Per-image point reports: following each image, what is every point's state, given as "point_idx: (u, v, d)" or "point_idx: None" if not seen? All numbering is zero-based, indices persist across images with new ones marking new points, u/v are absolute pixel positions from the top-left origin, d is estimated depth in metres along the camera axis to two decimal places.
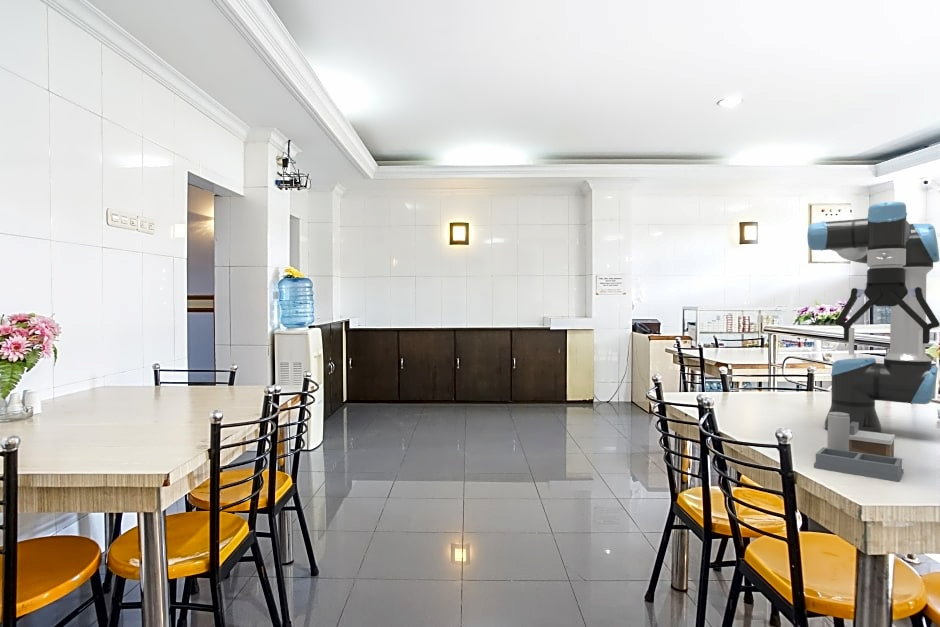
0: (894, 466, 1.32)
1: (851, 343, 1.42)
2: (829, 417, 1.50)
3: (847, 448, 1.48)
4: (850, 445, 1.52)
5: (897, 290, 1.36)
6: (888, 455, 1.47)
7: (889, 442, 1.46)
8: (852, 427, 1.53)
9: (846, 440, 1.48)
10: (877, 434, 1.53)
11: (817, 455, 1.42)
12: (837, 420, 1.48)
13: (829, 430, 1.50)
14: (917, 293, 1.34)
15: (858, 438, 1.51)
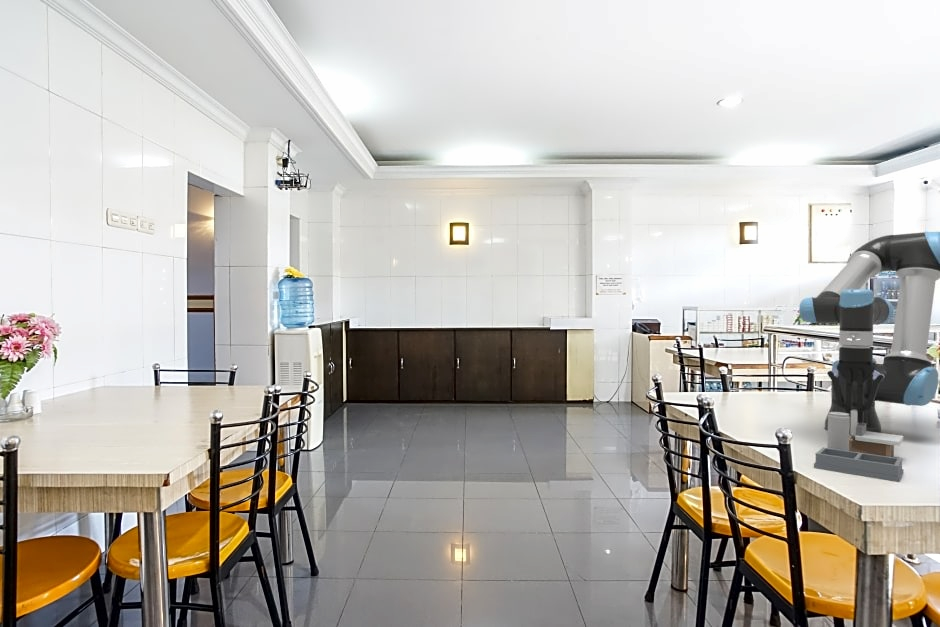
0: (894, 466, 1.32)
1: (853, 424, 1.54)
2: (829, 417, 1.50)
3: (847, 448, 1.48)
4: (850, 445, 1.52)
5: (866, 367, 1.52)
6: (888, 455, 1.47)
7: (898, 443, 1.45)
8: (860, 428, 1.51)
9: (846, 440, 1.48)
10: (885, 435, 1.52)
11: (817, 455, 1.42)
12: (837, 420, 1.48)
13: (829, 430, 1.50)
14: (877, 379, 1.51)
15: (866, 439, 1.50)
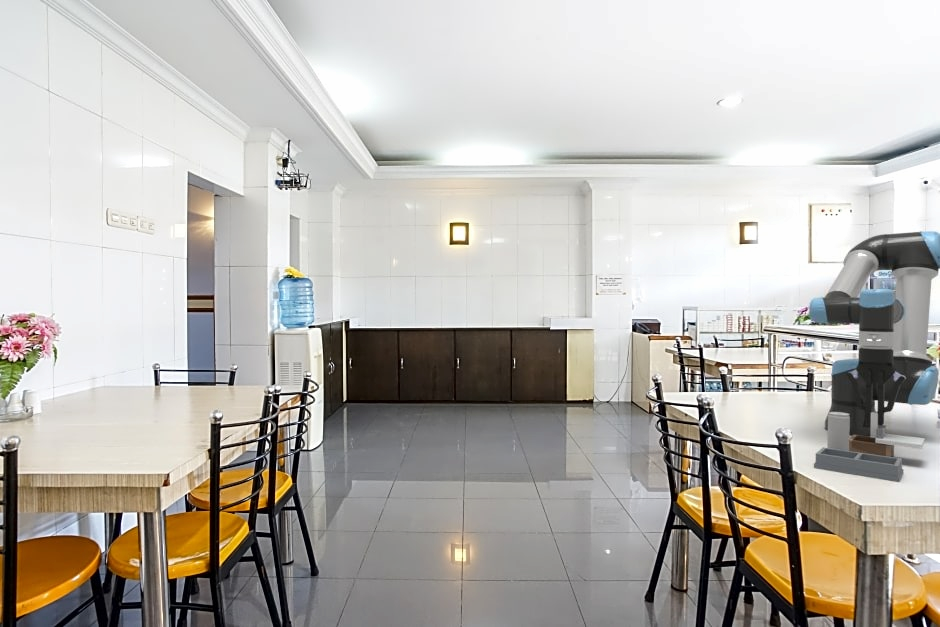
0: (894, 466, 1.32)
1: (873, 427, 1.51)
2: (829, 417, 1.50)
3: (847, 448, 1.48)
4: (850, 445, 1.52)
5: (887, 368, 1.49)
6: (888, 455, 1.47)
7: (920, 446, 1.42)
8: (881, 430, 1.48)
9: (846, 440, 1.48)
10: (906, 438, 1.49)
11: (817, 455, 1.42)
12: (837, 420, 1.48)
13: (829, 430, 1.50)
14: (898, 380, 1.48)
15: (887, 442, 1.47)
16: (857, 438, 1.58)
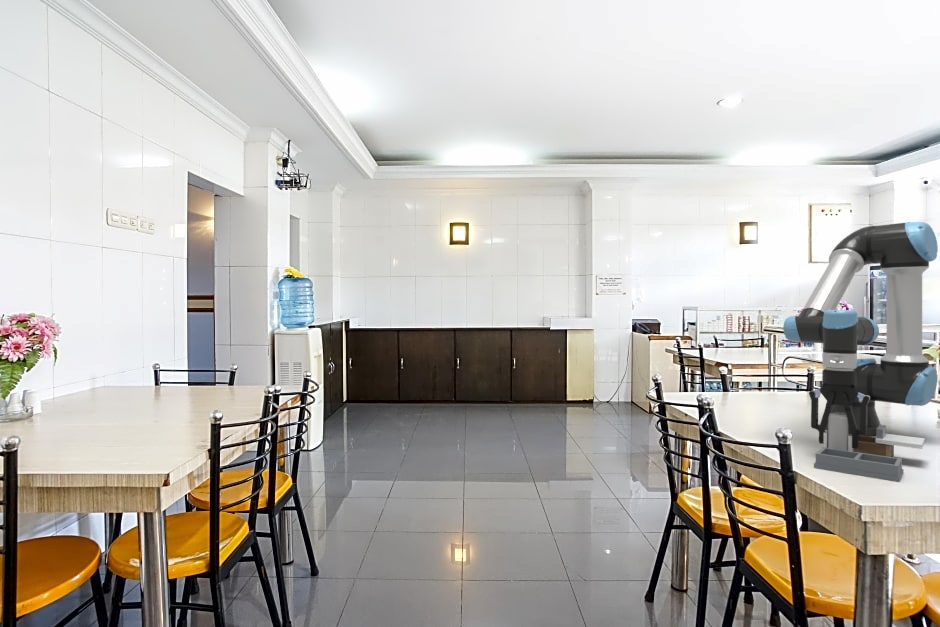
0: (894, 466, 1.32)
1: (825, 447, 1.51)
2: (829, 417, 1.50)
3: (847, 448, 1.48)
4: None
5: (849, 390, 1.48)
6: (888, 455, 1.47)
7: (920, 446, 1.42)
8: (881, 430, 1.48)
9: (846, 440, 1.48)
10: (906, 438, 1.49)
11: (817, 455, 1.42)
12: (837, 420, 1.48)
13: (829, 430, 1.50)
14: (863, 401, 1.46)
15: (887, 442, 1.47)
16: None
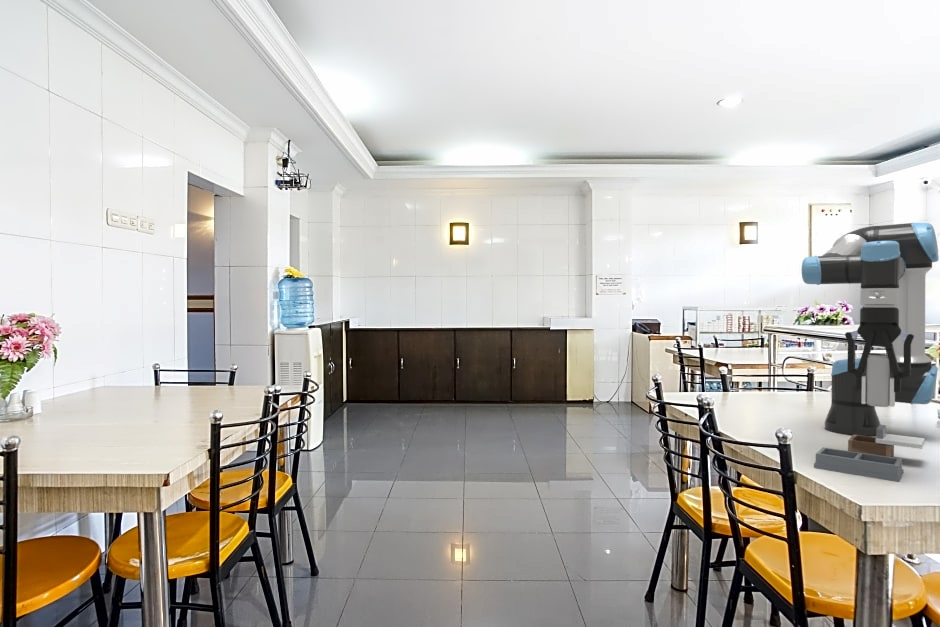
0: (894, 466, 1.32)
1: (864, 392, 1.38)
2: (868, 359, 1.37)
3: (888, 392, 1.35)
4: (850, 445, 1.52)
5: (891, 329, 1.35)
6: (888, 455, 1.47)
7: (920, 446, 1.42)
8: (881, 430, 1.48)
9: (887, 384, 1.35)
10: (906, 438, 1.49)
11: (817, 455, 1.42)
12: (878, 361, 1.35)
13: (868, 373, 1.37)
14: (907, 339, 1.33)
15: (887, 442, 1.47)
16: (857, 438, 1.58)
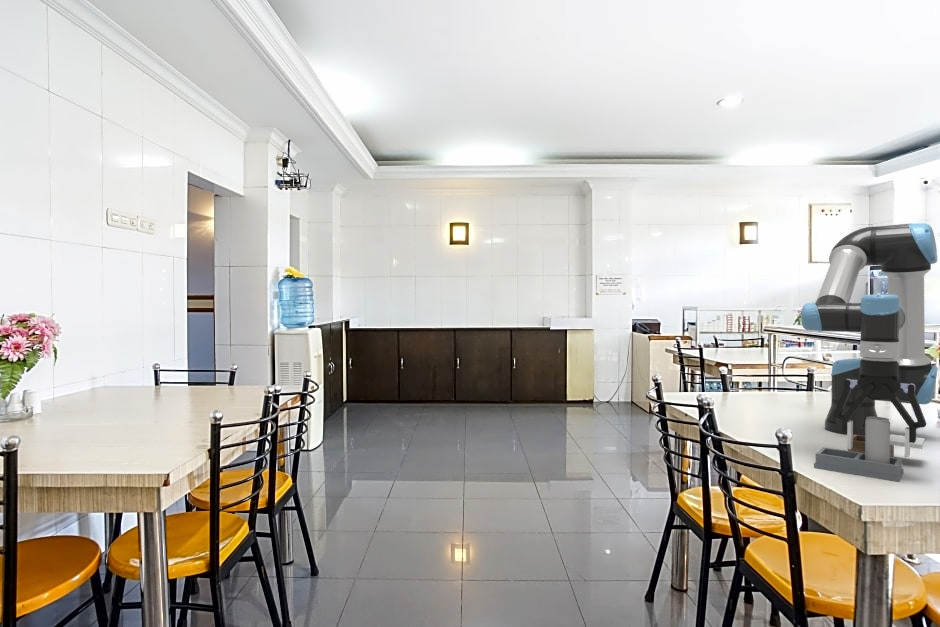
0: (894, 466, 1.32)
1: (849, 437, 1.40)
2: (867, 422, 1.38)
3: (888, 456, 1.35)
4: None
5: (890, 383, 1.35)
6: None
7: (920, 446, 1.42)
8: None
9: (886, 448, 1.35)
10: None
11: (817, 455, 1.42)
12: (876, 425, 1.36)
13: (867, 436, 1.38)
14: (909, 390, 1.32)
15: None
16: (857, 438, 1.58)
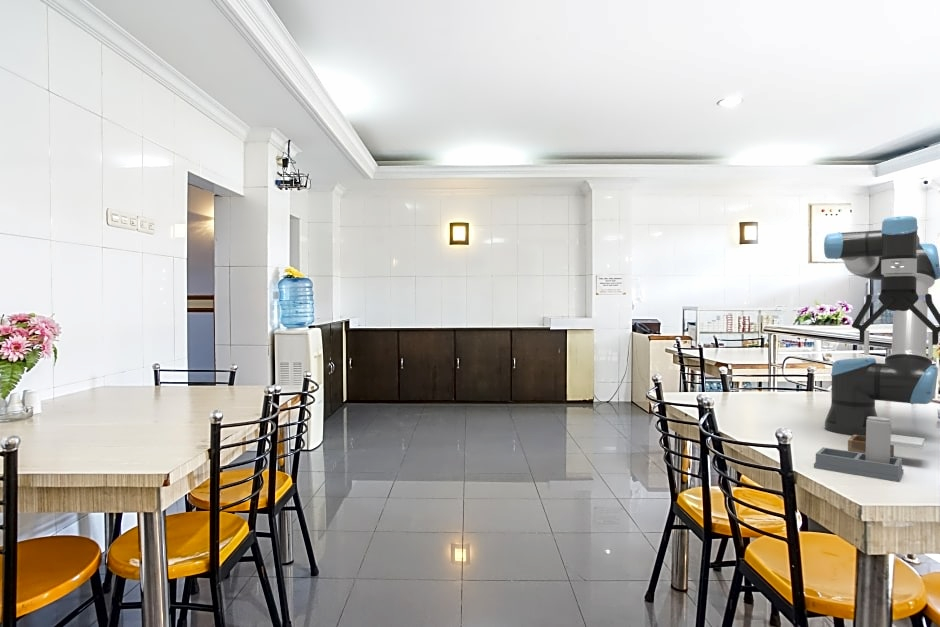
0: (894, 466, 1.32)
1: (866, 344, 1.56)
2: (868, 422, 1.38)
3: (888, 456, 1.35)
4: (850, 445, 1.52)
5: (909, 296, 1.50)
6: None
7: (920, 446, 1.42)
8: None
9: (887, 448, 1.35)
10: (906, 438, 1.49)
11: (817, 455, 1.42)
12: (877, 425, 1.36)
13: (868, 436, 1.38)
14: (927, 299, 1.47)
15: None
16: (857, 438, 1.58)
